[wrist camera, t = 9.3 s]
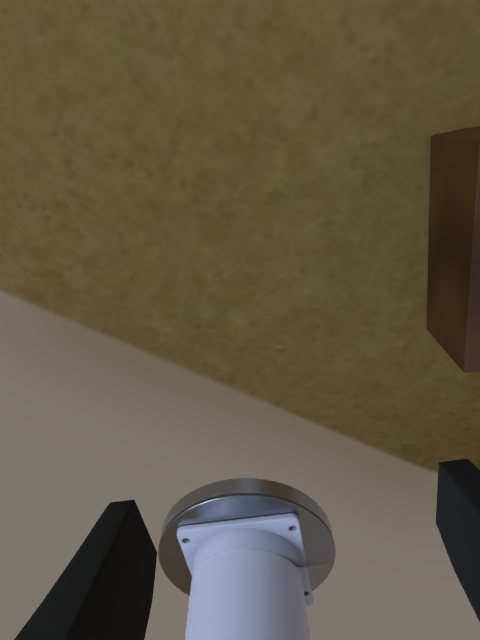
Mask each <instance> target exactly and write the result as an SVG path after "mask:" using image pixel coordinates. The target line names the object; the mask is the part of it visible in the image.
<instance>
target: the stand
mask: <svg viewBox="0 0 480 640" xmlns="http://www.w3.org/2000/svg"><path fill="white" fill-rule="evenodd" d="M427 330H428V331H429V332H430V334H431V335H432V336H433V337H434V338H435V339H436V341H437V342H438V343H439V344H440V345H441V346H442V347H443V349H444V350H445V351H446V352H447V353H448V354H449V356H450V357H451V358H452V359H453V360H454V361H455V363H456V364H457V365H458V366H459V367H460V368H461V370H462V371H463V372H466V373H467V372H474V371H480V126H477V127H472V128H466V129H461V130H456V131H451V132H445V133H440V134H435V135H433V136H432V137H431V164H430V209H429V254H428V299H427Z"/></svg>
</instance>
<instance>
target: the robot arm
mask: <svg viewBox="0 0 480 640" xmlns="http://www.w3.org/2000/svg"><path fill="white" fill-rule="evenodd" d="M436 524H437V526H438V528H439V532H440V534H441V537H442V540H443V542H444V545H445V548H446V550H447V553H448V555H449V558H450V560H451V563H452V566H453V568H454V571H455V573H456V575H457V577H458V579H459V581H460V583H461V585H462V587H463V589H464V591H465V593H466V595H467V597H468V599H469V601H470V603H471V605H472V607H473V609H474V611H475V613H476V615H477V617H478V619H479V621H480V470H479V469H478V468H477V467H476V466H475V465H474V464H473V463H472V462H470V461H469V460H467V459H463V460H455V461H446V462H439V472H438V491H437V511H436ZM177 538H178V541H179V543H180V546H181V549H182V551H183V554H184V557H185V559H186V562H187V565H188V567H189V570H190V573H191V575H192V581H191V590H190V599H189V608H188V617H187V626H186V635H185V640H310V635H309V627H308V619H307V612H306V606H307V605H310V604H312V603H313V596H312V590H311V585H310V579H309V573H308V567H307V561H306V555H305V550H304V544H303V538H302V532H301V526H300V521H299V517H298V515H296V514H294V513H288V514H279V515H271V516H262V517H254V518H245V519H237V520H228V521H220V522H211V523H203V524H194V525H186V526H181V527H179V528H178V530H177ZM156 557H157V552H156V549H155V547H154V545H153V542H152V540H151V538H150V535H149V533H148V531H147V528H146V526H145V524H144V521H143V519H142V517H141V514H140V512H139V510H138V507H137V505H136V503H135V500H128V501H120V502H111V503H110V504H109V505H108V506H107V508H106V509H105V511H104V512H103V514H102V515H101V517H100V518H99V519H98V521H97V522H96V524H95V525H94V527H93V529H92V530H91V532H90V533H89V535H88V536H87V538H86V539H85V541H84V542H83V544H82V545H81V547H80V548H79V550H78V551H77V553H76V554H75V556H74V557H73V558H72V560H71V561H70V563H69V564H68V566H67V567H66V569H65V570H64V572H63V573H62V574H61V576H60V577H59V579H58V580H57V582H56V583H55V584H54V586H53V587H52V589H51V590H50V592H49V593H48V594H47V596H46V597H45V599H44V600H43V602H42V603H41V604H40V606H39V607H38V608H37V610H36V611H35V612H34V614H33V615H32V616H31V618H30V619H29V621H28V622H27V623H26V624H25V626H24V627H23V628H22V630H21V631H20V633H19V634H18V635H17V636H16V638H15V639H14V640H144V638H145V633H146V628H147V623H148V619H149V614H150V609H151V604H152V597H153V588H154V580H155V568H156Z"/></svg>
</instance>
